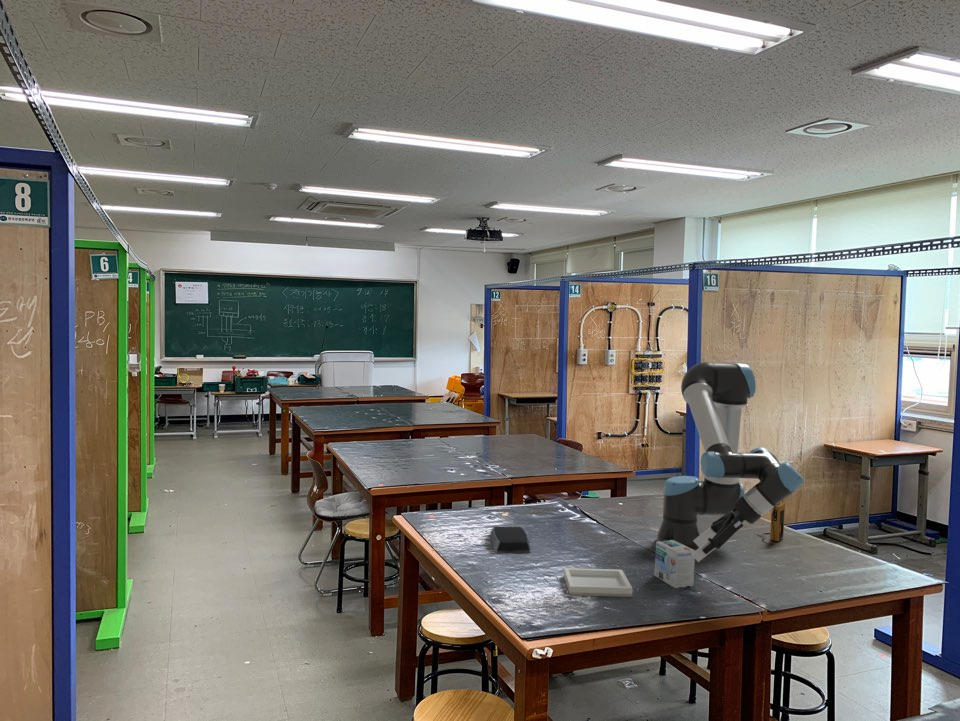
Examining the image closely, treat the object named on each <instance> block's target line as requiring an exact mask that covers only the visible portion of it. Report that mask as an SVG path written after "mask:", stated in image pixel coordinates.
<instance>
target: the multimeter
mask: <svg viewBox="0 0 960 721" xmlns="http://www.w3.org/2000/svg"><path fill="white" fill-rule="evenodd" d="M772 509H773V511H772V512H770V516H771V517H770V532H765V531H764V532H763V533H770V534H769V535H770V538H769V540H770V541H771V540H773V541H772V544H775V541H779V540H780V539H781V540H782V538H784V535H785V534H784V531H785V530H784V529H785V511H786V510H785V509H786V503H785V502H784V500H782V501H781V502H780V503H779V504H777V505H776V506H774V507H773V508H772ZM758 534H759V535H758ZM756 535H758V536H760V535H761V536H760V537H763V538H761V540H763V541H764V537H765V536H764V535H763V534H760V533H759V532H756ZM781 540H780V541H781ZM780 541H779V542H780Z"/></svg>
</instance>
